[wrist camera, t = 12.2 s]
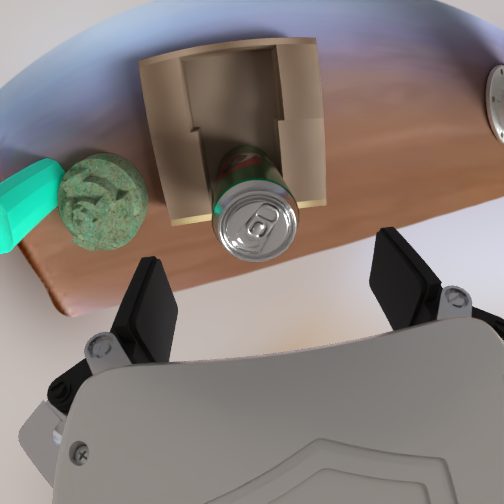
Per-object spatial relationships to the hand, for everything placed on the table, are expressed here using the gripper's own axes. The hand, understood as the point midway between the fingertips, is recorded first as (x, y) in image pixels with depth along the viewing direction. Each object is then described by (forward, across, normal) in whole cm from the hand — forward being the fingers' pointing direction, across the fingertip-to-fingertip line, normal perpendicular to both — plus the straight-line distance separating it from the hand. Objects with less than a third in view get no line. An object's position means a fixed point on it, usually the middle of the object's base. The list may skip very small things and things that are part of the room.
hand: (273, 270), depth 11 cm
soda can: (+16, +1, 0) cm, 16 cm away
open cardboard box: (+17, +1, -4) cm, 18 cm away
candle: (+17, +23, -3) cm, 28 cm away
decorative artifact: (+17, +16, +1) cm, 23 cm away
